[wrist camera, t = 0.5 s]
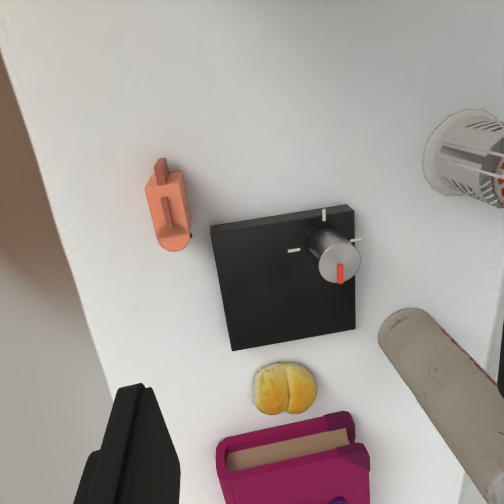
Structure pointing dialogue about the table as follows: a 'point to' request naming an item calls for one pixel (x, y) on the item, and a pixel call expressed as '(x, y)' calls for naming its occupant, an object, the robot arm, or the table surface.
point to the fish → (169, 207)
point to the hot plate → (281, 278)
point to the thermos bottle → (451, 395)
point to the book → (296, 464)
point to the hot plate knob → (333, 255)
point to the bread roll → (284, 388)
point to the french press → (467, 156)
